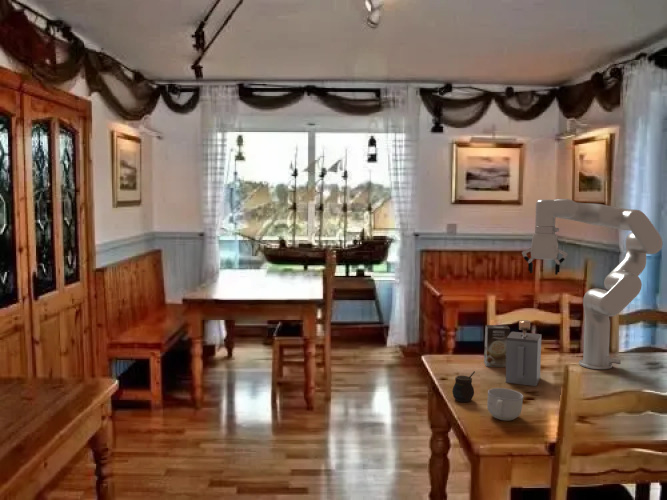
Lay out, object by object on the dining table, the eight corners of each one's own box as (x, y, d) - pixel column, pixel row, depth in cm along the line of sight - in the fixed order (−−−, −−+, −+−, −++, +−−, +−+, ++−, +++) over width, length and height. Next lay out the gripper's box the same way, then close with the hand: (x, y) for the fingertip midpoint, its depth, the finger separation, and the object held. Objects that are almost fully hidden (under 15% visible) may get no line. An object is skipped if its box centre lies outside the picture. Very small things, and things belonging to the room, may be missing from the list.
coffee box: (486, 366, 253) (486, 327, 252) (483, 362, 260) (484, 324, 258) (509, 367, 252) (510, 328, 251) (506, 363, 259) (507, 325, 257)
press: (540, 378, 238) (541, 334, 236) (535, 388, 225) (536, 342, 223) (510, 374, 242) (511, 331, 241) (504, 384, 230) (505, 339, 228)
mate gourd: (447, 398, 215) (448, 369, 214) (466, 396, 217) (467, 367, 217) (459, 404, 208) (460, 375, 207) (478, 402, 211) (479, 373, 210)
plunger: (537, 365, 237) (538, 320, 235) (534, 371, 229) (535, 324, 227) (513, 362, 241) (514, 318, 239) (509, 368, 232) (510, 322, 231)
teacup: (496, 409, 204) (496, 385, 203) (528, 416, 197) (528, 391, 197) (476, 421, 193) (477, 395, 193) (509, 429, 187) (510, 403, 186)
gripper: (568, 230, 247) (567, 273, 249) (523, 229, 254) (522, 271, 256) (567, 231, 240) (565, 275, 242) (521, 230, 247) (519, 273, 249)
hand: (543, 273), depth 249 cm, fingers open, 9 cm apart
